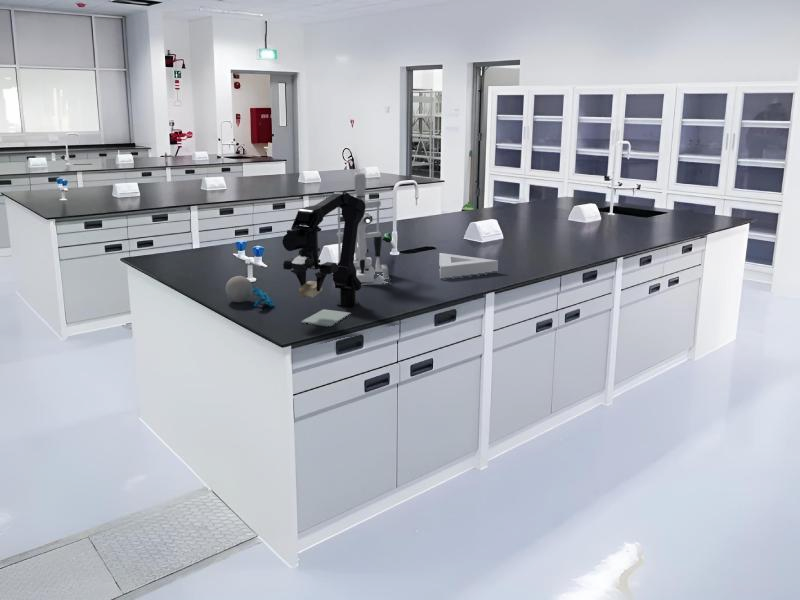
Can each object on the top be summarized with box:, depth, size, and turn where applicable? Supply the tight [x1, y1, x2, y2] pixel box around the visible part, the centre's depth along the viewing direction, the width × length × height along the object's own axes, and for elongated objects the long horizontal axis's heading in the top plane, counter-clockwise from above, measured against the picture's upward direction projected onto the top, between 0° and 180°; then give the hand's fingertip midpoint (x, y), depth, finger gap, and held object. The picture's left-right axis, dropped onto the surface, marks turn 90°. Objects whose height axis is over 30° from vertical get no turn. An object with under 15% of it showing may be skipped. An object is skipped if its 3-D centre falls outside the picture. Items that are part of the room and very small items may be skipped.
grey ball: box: [225, 275, 254, 303], centre depth 261 cm, size 10×10×10 cm
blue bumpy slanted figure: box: [253, 286, 275, 308], centre depth 256 cm, size 11×6×10 cm
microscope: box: [331, 172, 390, 288], centre depth 294 cm, size 24×27×45 cm
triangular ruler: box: [438, 252, 499, 279], centre depth 313 cm, size 30×26×6 cm
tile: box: [298, 280, 323, 298], centre depth 240 cm, size 5×10×3 cm, turn 168°
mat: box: [301, 308, 352, 328], centre depth 243 cm, size 16×11×1 cm
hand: (311, 290), depth 240 cm, fingers closed on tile, 5 cm apart
